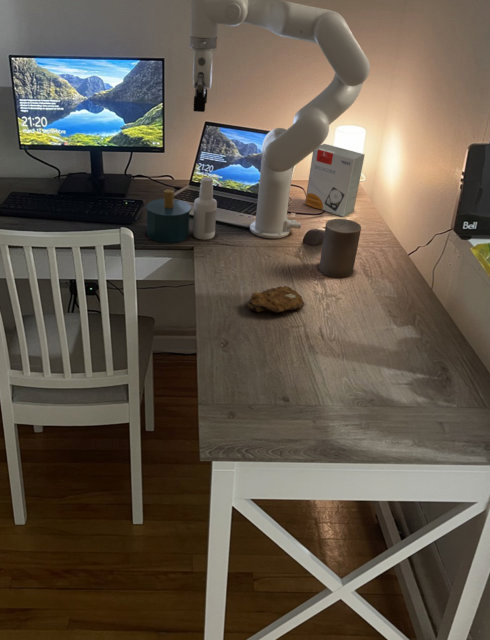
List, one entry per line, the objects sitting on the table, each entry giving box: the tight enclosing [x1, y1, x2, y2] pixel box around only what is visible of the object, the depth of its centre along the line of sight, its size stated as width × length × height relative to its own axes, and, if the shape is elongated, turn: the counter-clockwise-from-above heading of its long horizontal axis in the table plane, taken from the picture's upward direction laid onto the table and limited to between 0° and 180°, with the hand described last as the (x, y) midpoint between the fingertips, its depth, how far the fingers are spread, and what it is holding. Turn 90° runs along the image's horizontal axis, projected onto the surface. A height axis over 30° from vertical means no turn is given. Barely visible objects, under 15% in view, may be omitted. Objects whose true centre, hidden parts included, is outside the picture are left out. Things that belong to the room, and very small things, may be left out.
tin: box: [146, 210, 191, 244], centre depth 207 cm, size 13×13×8 cm
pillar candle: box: [318, 218, 362, 278], centre depth 189 cm, size 10×10×15 cm
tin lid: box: [145, 188, 192, 217], centre depth 204 cm, size 14×14×6 cm
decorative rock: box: [246, 285, 305, 314], centre depth 172 cm, size 11×4×15 cm
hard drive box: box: [304, 143, 366, 218], centre depth 227 cm, size 16×8×20 cm, turn 49°
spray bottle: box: [192, 176, 218, 240], centre depth 205 cm, size 7×7×18 cm
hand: (200, 107), depth 196 cm, fingers open, 9 cm apart
